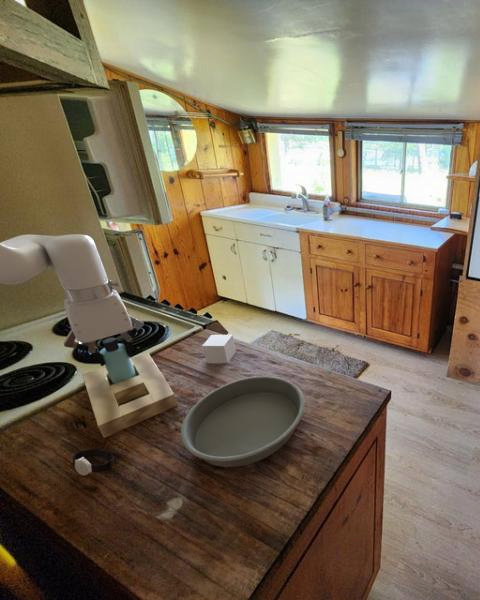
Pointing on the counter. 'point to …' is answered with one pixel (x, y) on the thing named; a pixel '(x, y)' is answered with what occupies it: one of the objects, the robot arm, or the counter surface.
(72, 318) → the robot arm
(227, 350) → the white cube
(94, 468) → the watch
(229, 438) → the cake pan
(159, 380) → the hole block
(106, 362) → the bottle
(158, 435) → the counter surface
